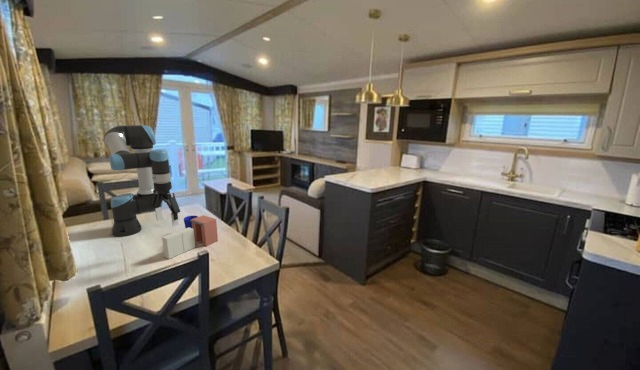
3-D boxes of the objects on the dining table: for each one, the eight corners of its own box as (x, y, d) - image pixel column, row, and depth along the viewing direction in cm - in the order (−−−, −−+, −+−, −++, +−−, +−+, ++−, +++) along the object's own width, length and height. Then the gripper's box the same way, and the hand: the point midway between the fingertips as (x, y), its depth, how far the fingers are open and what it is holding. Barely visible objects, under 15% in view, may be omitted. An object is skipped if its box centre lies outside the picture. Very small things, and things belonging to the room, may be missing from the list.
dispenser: (192, 242, 161) (190, 219, 157) (205, 236, 168) (203, 215, 164) (205, 246, 155) (203, 223, 152) (217, 241, 162) (216, 218, 159)
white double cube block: (164, 256, 143) (162, 237, 140) (190, 245, 156) (188, 227, 153) (169, 258, 141) (166, 239, 138) (195, 247, 154) (193, 228, 151)
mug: (200, 236, 167) (198, 221, 165) (182, 234, 170) (180, 219, 167) (207, 231, 175) (206, 216, 173) (190, 229, 178) (189, 214, 175)
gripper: (140, 179, 138) (146, 219, 143) (170, 187, 125) (175, 230, 131) (155, 177, 144) (160, 215, 149) (185, 183, 132) (189, 225, 137)
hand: (167, 222), depth 140 cm, fingers open, 13 cm apart
